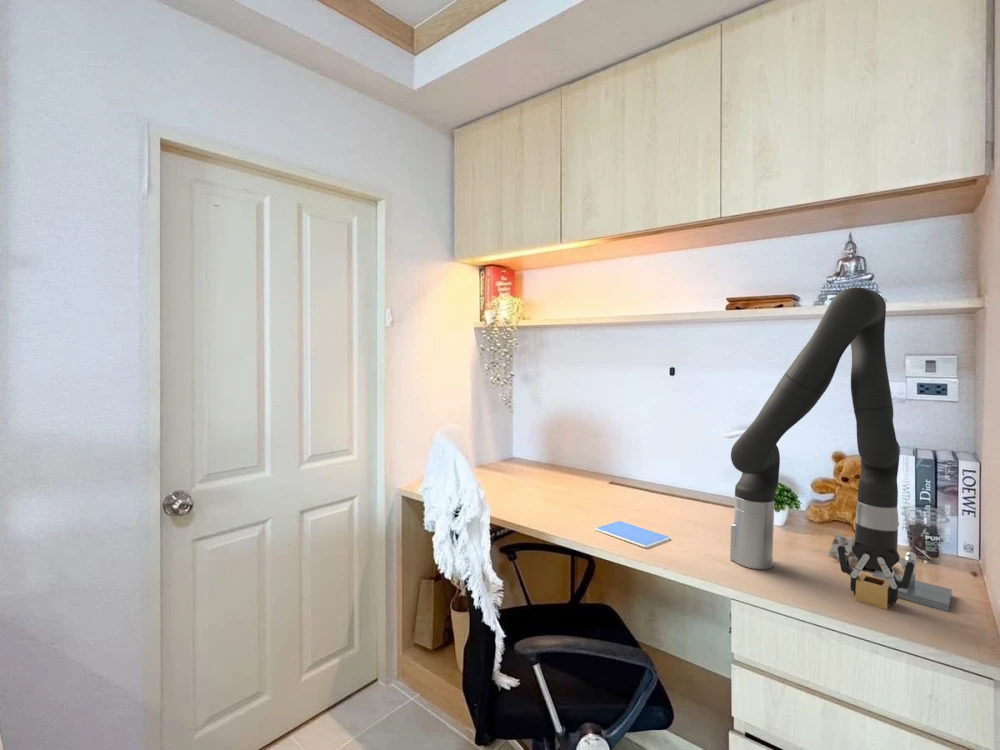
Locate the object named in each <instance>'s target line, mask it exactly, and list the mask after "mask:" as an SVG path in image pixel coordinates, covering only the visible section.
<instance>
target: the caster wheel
mask: <svg viewBox="0 0 1000 750" xmlns="http://www.w3.org/2000/svg"><path fill="white" fill-rule="evenodd" d="M854 543H855V537H852V536H849V537H847V536H845V535H842V534H841V533H838V532H836V533H835V535H834V537H833V540H832V542H831V545H830V548H829V551H828V554H827V555H828V557H831V558H832V559H834V560H836V561H838V562H839V563H840V560H839V554H838V546H839V545H840V544H845V545H847V546H853V545H854ZM848 560H849V566H850V567H851V568H852V569H854V568H855V567H856V565H857V564H858V562H859V560H858V559H857V557H856V556H855V554H854V553H853V551H850V554H849V555H848Z"/></svg>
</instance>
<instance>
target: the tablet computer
mask: <svg viewBox="0 0 1000 750" xmlns="http://www.w3.org/2000/svg"><path fill="white" fill-rule="evenodd" d="M594 530H595V531H596V532H598V533H601V534H604V535H607V536H610V537H612V538H615V539H619V540H622V541H623V542H627V543H630V544H632V545H635V546H637V547H641V548H643V549H651V548H655V547H656V546H659V545H661V544H664V543H667V542H669V541H670V540H671V539H672V538H671V536H669V535H666V534H662V533H658V532H655V531H653V530H649V529H646V528H643V527H640V526H637V525H633V524H630V523H628V522H624V521H621V520H618V521H615V522H611V523H608V524H605V525H601V526H597V527H595V528H594Z"/></svg>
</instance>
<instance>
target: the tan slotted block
mask: <svg viewBox="0 0 1000 750" xmlns="http://www.w3.org/2000/svg"><path fill="white" fill-rule="evenodd" d="M889 587H890V584H889V582H888V580H886V579H882V578H879V577H875V576H872V575H870V574H867V573H863V572H860V573H859V577H858V578H857V580H856V595H855V594H854V595H855V598H854V599H855V600H854V601H856V602H860V603H862V604H867V605H871V606H874V607H876V608H877V607H878V608H880V609H884V610H888V608H889V606H890V604H888V600H889Z"/></svg>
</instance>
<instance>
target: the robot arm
mask: <svg viewBox="0 0 1000 750" xmlns="http://www.w3.org/2000/svg"><path fill="white" fill-rule="evenodd" d="M886 309H887V304H886V300H885V299H884V297H883V296H882V295H881V294H879V293H878V292H877V291H875V290H872V289H868V288H865V287H857V286H856V287H855V286H854V287H848V288H846V289H844V290H842V291H840V292H839V293H837V294H835V296H834V297H833V298H832V299H831V301H830V303H829V305H828V306H827V309H826V310H825V312H824V313H823V316H822V318H821V320H820V321H819V323H818V325H817V328H816V329H815V331H814V332H813V334H812V336H811V338H810V339H809V340H808V342H807V343H806V345H805V346H804V347H803V348H802V350H800V352H799V354H798V355H797V356H796V358H795V359H794V360H793V362H792V363H791V364H790V366H789V367H788V369H787V370H786V371H785V373H784V374H783V375H782V377H781V379H779V382H778V383H777V385H775V388H774V390H773V391H772V393H771V394H770V396H769V397H768V399H767V400H766V401H765V403H764V405H763V407H762V408H761V409H760V412H759V413H758V414H757V416H756V417H755V419H754V420H753V421H752V423H750V425H749V426H748V427H747V428H746V430H745V431H744V432H743V433H742V434H741V435H740V437H739V438H737V440H735V442H734V444H733V446H732V448H731V451H730V460H731V464H732V465H733V467H734V468H735V469H736V470H737V471H739V472H741V475H740V478H739V480H738V482H737V483H736V484H735V486H734V487H735V488H734V516H733V521H734V522H733V523H731V525H730V546H729V547H730V549H729V551H730V554H729V558H730V559H729V560H730V561H731V562H735V563H736V564H738V565H741V566H743V567H745V568H749V569H754V570H768V569H771V568H772V567H773V559H774V557H773V556H774V554H773V553H774V530H775V529H774V528H775V527H774V526H775V524H774V523H775V497H776V495H775V494H776V492H777V489H778V486H779V479H780V478H779V477H780V462H781V457H780V456H781V455H780V450H779V447H778V445H777V444H778V443H779V441H780V439H781V438H782V437H784V435H785V434H786V432H788V431H789V430H790V429H792V428H793V426H795V425H796V424H797V423H798V422H800V420H802V419H803V418H804V417H805V416H806V415H807V414H808V413H809V412H811V410H812V409H813V408H814V407H815V406H816V404H817V403H818V402H819V400H821V397H822V396H823V395H824V394H825V392H826V391H827V389H828V388H829V386H830V384H831V382H832V381H833V378H834V375H835V373H836V371H837V367H838V365H839V362H840V360H841V358H842V356H843V354H844V352H845V351H846V350H847V349H848V347H849V346H850V348H851V349H850V350H851V368H850V369H851V370H850V393H851V400H852V408H853V412H854V417H855V421H856V427H855V428H856V443H857V451H858V455H859V456H860V476H859V479H858V480H859V481H858V486H857V503H856V508H855V521H854V522H855V524H854V538H855V543H854V545H853V546H847V545H845V544H840V545H839V546H838V554H839V560H840V562H839V565H840V570H841V572H842V573H844V574H847V575H848V576H849V577H850V591H851V592H853V595H856V580H857V578H858V577H859V575H860V574H861V573H862V570H863V569H864V567H865V568H866V569H868V570H872V569H873V570H877V571H880V572H883V573H884V575H885V577H886V578H887V580H888V582H889V584H890V587H889V600H888V604H889V606H893V605H894V604H896V603H897V602H898V599H899V598H898V589H899V588H903V589H907V588H908V586H909V584H910V580H911V577H912V574H913V570H914V567H915V561H914V560H907V559H905V557H901V556H900V554H899V553H898V540H899V538H898V536H899V535H898V534H899V525H900V524H899V523H900V522H899V511H898V503H899V502H898V500H899V499H898V498H899V489H898V473H899V466H900V465H899V464H900V455H901V454H900V453H901V448H900V444H899V442H898V440H897V435H896V431H895V426H894V425H895V424H894V407H893V406H894V403H893V399H892V392H891V386H890V379H889V373H888V367H887V358H886V347H885V345H886V343H885V342H886V341H885V332H886V330H885V329H886V315H887V312H886V311H887V310H886ZM850 551H853V553H854V554H855V556H856V557H857V559H858V560H859V562H858V563H857V565H856V567H855V568H854V569H853V568H851V567H850V566H849V560H848V555H849V554H850ZM898 563H900V567H901V569H902V570H905V572H904V571H903V576H902V577H903V579H902V580H897V578H896V576H895V575H896V571H895V570H894V568H893V567H895V565H897V564H898Z"/></svg>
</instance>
